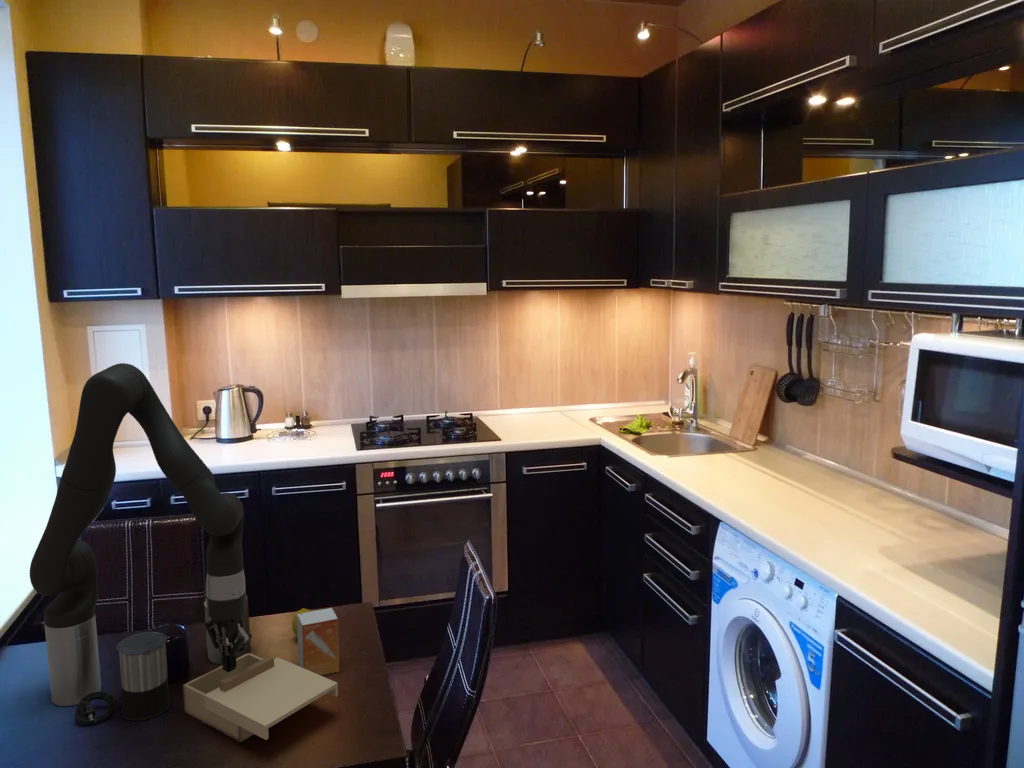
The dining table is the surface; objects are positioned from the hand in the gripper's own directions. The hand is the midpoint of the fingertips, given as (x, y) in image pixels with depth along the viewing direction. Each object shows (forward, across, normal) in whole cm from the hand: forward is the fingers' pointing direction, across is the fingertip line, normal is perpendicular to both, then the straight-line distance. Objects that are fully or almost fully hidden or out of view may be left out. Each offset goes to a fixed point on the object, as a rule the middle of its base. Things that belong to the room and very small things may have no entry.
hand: (229, 669), depth 158 cm
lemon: (+8, -9, +27) cm, 30 cm away
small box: (+7, +5, +19) cm, 21 cm away
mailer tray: (+7, +4, 0) cm, 8 cm away
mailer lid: (+3, +13, 0) cm, 13 cm away
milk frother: (+8, -15, -15) cm, 22 cm away
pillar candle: (+8, -18, +12) cm, 23 cm away
